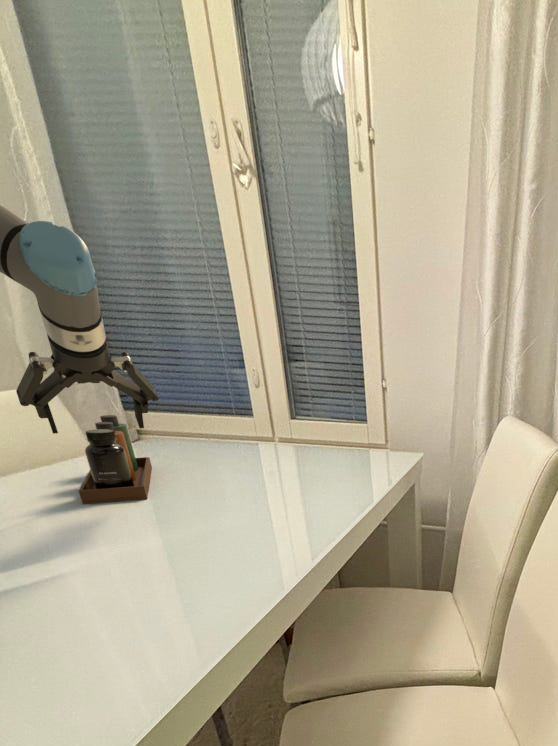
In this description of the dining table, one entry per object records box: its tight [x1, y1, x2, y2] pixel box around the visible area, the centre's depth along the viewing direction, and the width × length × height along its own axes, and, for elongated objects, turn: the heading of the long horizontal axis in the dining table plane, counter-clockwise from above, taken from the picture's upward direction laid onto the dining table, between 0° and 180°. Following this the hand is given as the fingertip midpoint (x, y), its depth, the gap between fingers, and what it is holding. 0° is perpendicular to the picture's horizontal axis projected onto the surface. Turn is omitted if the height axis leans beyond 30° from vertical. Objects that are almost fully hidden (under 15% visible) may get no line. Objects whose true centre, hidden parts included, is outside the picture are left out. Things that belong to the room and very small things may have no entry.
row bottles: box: [94, 414, 138, 481], centre depth 122 cm, size 6×16×12 cm, turn 26°
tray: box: [77, 456, 153, 505], centre depth 120 cm, size 11×29×3 cm, turn 26°
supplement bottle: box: [84, 428, 134, 489], centre depth 111 cm, size 7×7×12 cm
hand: (98, 424), depth 101 cm, fingers open, 13 cm apart
